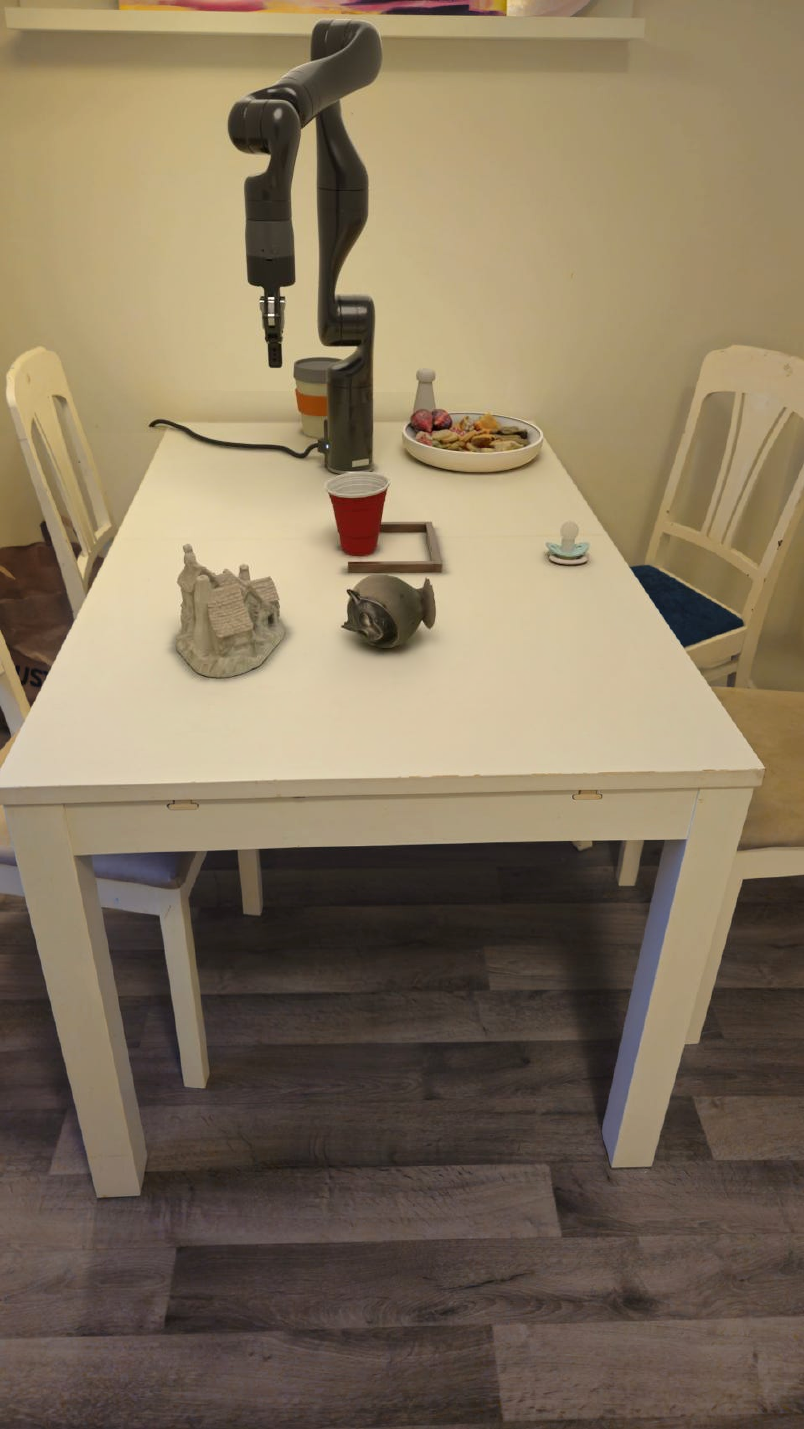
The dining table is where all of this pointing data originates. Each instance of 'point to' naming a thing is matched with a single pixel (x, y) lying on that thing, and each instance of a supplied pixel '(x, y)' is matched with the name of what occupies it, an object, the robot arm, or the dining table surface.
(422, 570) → the frame
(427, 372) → the salt shaker
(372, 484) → the plastic cup
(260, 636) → the ceramic cottage
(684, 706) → the dining table surface
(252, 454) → the dining table surface
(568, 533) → the pacifier
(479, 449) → the bowl
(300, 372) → the reusable coffee cup
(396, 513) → the dining table surface
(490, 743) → the dining table surface
